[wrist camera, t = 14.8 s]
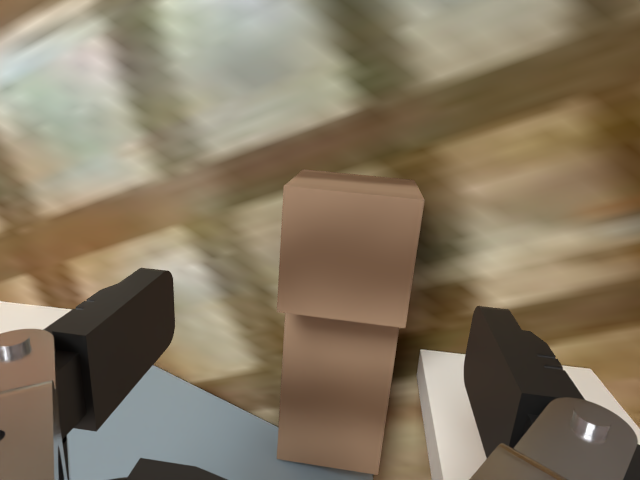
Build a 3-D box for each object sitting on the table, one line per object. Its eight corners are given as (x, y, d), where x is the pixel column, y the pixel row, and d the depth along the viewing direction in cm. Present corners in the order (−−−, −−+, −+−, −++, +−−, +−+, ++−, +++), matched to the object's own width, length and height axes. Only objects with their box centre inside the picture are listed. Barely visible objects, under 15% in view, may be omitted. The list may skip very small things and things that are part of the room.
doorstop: (303, 169, 20) (283, 185, 16) (414, 179, 20) (424, 199, 16) (286, 424, 24) (267, 492, 20) (377, 438, 24) (377, 510, 20)
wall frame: (-24, 298, 24) (-685, 614, 9) (590, 368, 21) (1128, 1030, 6) (-19, 323, 25) (-644, 664, 10) (583, 395, 22) (1069, 1077, 6)
